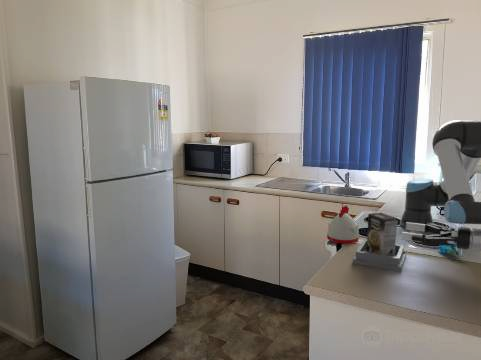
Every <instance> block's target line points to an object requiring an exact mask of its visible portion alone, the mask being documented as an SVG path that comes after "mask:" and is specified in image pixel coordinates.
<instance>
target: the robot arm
mask: <svg viewBox="0 0 481 360" xmlns="http://www.w3.org/2000/svg"><path fill="white" fill-rule="evenodd" d="M432 150H433V153H434V155H435V156H437V159H438V163H439V167H440V170H441V174H442V179H441V180H440V181H439V182H434V181H433V179H432V178H417V179H412V180H409V181H408V182H407V183H406V188H405V203H404V204H405V205H404V206H405V207H404V211H403V213H402V215H401V218H400V221H399V222H400V223H399V225H400V226H401V227H403V228H405V230H408V231H416V232H423V233H414V232H407V231H401V240H402V241H408V242H418V243H422V244H423V246H440V245H441V246H442V245H448V246H454V243H455V244H456V245H457V246H456V248H457V249H461V250H469V249H470V250H471V251H477V253H481V228H472V229H471V228H470V227H465V226H464V227H463V226H458V228H457V231H455V230H456V229H455V228H453V227H447V226H444V225H439V224H436V223H434V219H433V216H432V207H443V212H444V218H445V220H446V222H447V223H451V224H459V225H481V201H476V200H475V198H474V195H473V192H472V188H471V185H470V182H469V180H470V179H471V177H472V175H473V173H474V171H475V169H476V167H477V165H478V164H479V162H480V160H481V119H479V120H478V119H473V120H471V119H470V120H469V119H468V120H467V119H466V120H464V119H463V120H459V119H457V120H450V121H448V122H446V123H444V124H443V125H441V126H440V127H439V128H438V129H437V131H436V132H435V133H434V136H433V138H432ZM426 233H430V234H428V235H426Z"/></svg>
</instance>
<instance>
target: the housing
mask: <svg viewBox="0 0 481 360" xmlns="http://www.w3.org/2000/svg"><path fill="white" fill-rule="evenodd" d="M406 256H407V250H406V249H405V245H404V244H396V243H395V256H394V257H393V256H387V255H380V254H374V253H368V252H367V239H363V240H362V242H360V245H359V246H358V248H357V250H356V251H355V256H353V258H352V264H355V265H359V266H366V267H373V268H377V269H384V270H389V271H395V272H402V270H403V266H404V263H405V260H406Z"/></svg>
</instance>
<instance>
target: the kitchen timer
mask: <svg viewBox="0 0 481 360" xmlns="http://www.w3.org/2000/svg"><path fill="white" fill-rule="evenodd" d="M349 210H350V208H349V207H348V205H344V206H341V209H340V212H338V214H337V215H335V216H334V217H333V219H332V220H331V222H328V228H327V229H328V230H327V233H326V238H327V240H328V241H330V242H333V243H337V244H343V245H344V244H345V245H346V244H354V243H357V242H359V241H358V239H359V238H360V233H359V230H360V229H359V225H358V224H357V223H356V221H355V220H354V218H353V217H352V216H351V215H350V214H349ZM359 240H360V239H359Z"/></svg>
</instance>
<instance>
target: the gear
mask: <svg viewBox="0 0 481 360" xmlns="http://www.w3.org/2000/svg"><path fill="white" fill-rule="evenodd" d="M437 248H438V249H437V251H438V250H440V252H439V254H441V253H442V254H447V253H448V252H449V254H451V255H453V256H454V257H455V258H457V259H458V258H459V256H458V254H459V253H460V252H459V251H458V250H457V249H456V248H457V243H454V246H448V245H438V247H437ZM456 253H458V254H456Z"/></svg>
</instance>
